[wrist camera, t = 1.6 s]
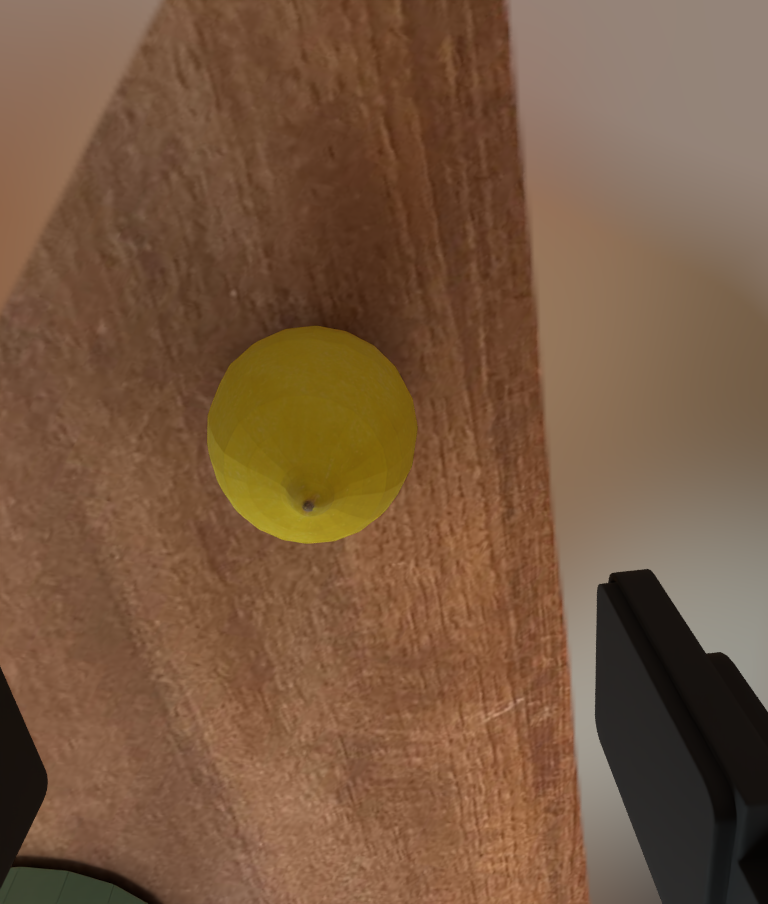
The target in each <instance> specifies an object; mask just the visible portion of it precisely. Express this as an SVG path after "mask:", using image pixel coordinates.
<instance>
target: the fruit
mask: <svg viewBox="0 0 768 904" xmlns="http://www.w3.org/2000/svg"><path fill="white" fill-rule="evenodd" d="M417 429H418V426H417V421H416V415H415V409H414V404H413V398H412V397H411V395H410V393H409V391H408V389H407V387H406V385H405V383H404V382H403V380H402V378H401V376H400V374H399V372H398V370H397V369H396V367H395V366H394V365H393V364H392V363H391V362H390V361H389V360H388V359H387V358H386V357H385V356H384V355H383V354H382V353H381V352H380V351H379V350H378V349H377V348H376V347H375V346H374V345H372V344H370V343H368V342H366V341H364V340H362V339H360V338H358V337H357V336H355V335H353V334H351V333H349V332H347V331H342V330H337V329H332V328H326V327H321V326H308V327H299V328H289V329H284V330H282V331H280V332H277V333H275V334H273V335H270V336H268V337H266V338H264V339H261V340H259V341H257V342H256V343H254V344H253V345H251V346H250V347H249V348H248V349H247V350H246V351H245V352H244V353H243V354H241V355H240V356H239V357H238V358H237V359H236V360H235V361H234V362H232V363H231V364H230V365H229V367H228V369H227V371H226V373H225V375H224V377H223V378H222V380H221V382H220V384H219V386H218V389H217V392H216V394H215V397H214V399H213V402H212V404H211V407H210V410H209V413H208V425H207V446H208V451H209V456H210V459H211V462H212V465H213V469H214V472H215V475H216V478H217V481H218V483H219V485H220V487H221V489H222V491H223V492H224V494H225V495H226V496H227V498H228V499H229V501H230V502H231V504H232V505H233V507H234V508H235V509H236V511H237V512H238V513H239V514H241V515H242V516H243V517H244V518H245V519H247V520H248V521H249V522H250V523H252V524H253V525H254V526H255V527H257V528H258V529H260V530H262V531H264V532H266V533H269V534H271V535H273V536H275V537H278V538H280V539H282V540H288V541H294V542H300V543H306V544H308V543H319V542H330V541H336V540H339V539H341V538H344V537H347V536H349V535H352V534H355V533H357V532H359V531H361V530H362V529H363V528H365V527H366V526H367V525H369V524H370V523H371V522H373V521H374V520H375V519H377V518H378V517H379V516H380V515H382V514H383V513H384V512H385V511H386V510H387V508H388V507H389V506H390V504H391V503H392V501H393V500H394V499H395V497H396V496H397V494H398V493H399V491H400V489H401V487H402V485H403V483H404V481H405V479H406V477H407V475H408V473H409V471H410V469H411V467H412V463H413V456H414V449H415V442H416V436H417Z"/></svg>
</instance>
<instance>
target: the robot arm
mask: <svg viewBox="0 0 768 904" xmlns="http://www.w3.org/2000/svg"><path fill="white" fill-rule="evenodd" d="M595 690H596V691H595V719H596V720H595V721H596V727H597V732H598V736H599V740H600V743H601V745H602V748H603V750H604V753H605V756H606V758H607V761H608V764H609V766H610V769H611V771H612V774H613V777H614V779H615V782H616V784H617V787H618V789H619V792H620V795H621V797H622V800H623V803H624V805H625V808H626V810H627V813H628V816H629V818H630V821H631V823H632V826H633V829H634V831H635V834H636V836H637V839H638V842H639V844H640V847H641V849H642V852H643V855H644V857H645V860H646V862H647V865H648V867H649V870H650V873H651V875H652V878H653V880H654V883H655V886H656V888H657V891H658V893H659V896H660V899H661V901H662V904H768V712H767V710H766V709H765V707H764V706H763V705H762V703H761V702H760V700H759V699H758V697H757V696H756V695H755V693H754V692H753V690H752V689H751V687H750V686H749V685H748V683H747V682H746V680H745V679H744V677H743V676H742V675H741V673H740V671H739V670H738V669H737V667H736V666H735V664H734V663H733V662H732V661H731V660H730V659H729V657H728V656H727V655H725V654H723V653H721V652H717V653H708V654H706V653H705V651H704V650H703V648H702V647H701V645H700V644H699V642H698V641H697V639H696V638H695V636H694V634H693V633H692V631H691V630H690V628H689V627H688V625H687V624H686V622H685V621H684V619H683V618H682V616H681V615H680V613H679V612H678V610H677V608H676V607H675V605H674V604H673V602H672V601H671V599H670V598H669V596H668V595H667V593H666V592H665V590H664V589H663V587H662V586H661V584H660V582H659V581H658V580H657V578H656V576H655V575H654V574H653V572H652V571H651V570H649V569H644V570H635V571H626V572H616V573H612V574H610V577H609V582H608V583H604V584H599V585H598V589H597V630H596V689H595ZM47 784H48V779H47V773H46V770H45V768H44V765H43V763H42V761H41V758H40V756H39V754H38V752H37V749H36V747H35V745H34V743H33V740H32V738H31V736H30V733H29V731H28V729H27V727H26V724H25V722H24V720H23V717H22V715H21V713H20V711H19V708H18V706H17V704H16V701H15V699H14V697H13V695H12V692H11V690H10V688H9V685H8V683H7V681H6V679H5V676H4V674H3V672H2V670H1V667H0V889H1V887H2V885H3V883H4V881H5V878H6V876H7V874H8V872H9V870H10V868H11V866H12V864H13V862H14V860H15V858H16V856H17V854H18V852H19V850H20V848H21V845H22V843H23V841H24V839H25V837H26V835H27V833H28V831H29V829H30V827H31V825H32V823H33V821H34V819H35V817H36V814H37V812H38V810H39V808H40V806H41V804H42V802H43V800H44V798H45V795H46V791H47Z"/></svg>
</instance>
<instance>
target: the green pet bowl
mask: <svg viewBox="0 0 768 904" xmlns="http://www.w3.org/2000/svg"><path fill="white" fill-rule="evenodd" d="M0 904H148V903H146V902H145V901H143V900H141V899H139V898H137V897H136V896H134V895H132V894H130V893H128V892H127V891H125V890H123V889H121V888H119V887H118V886H116V885H113V884H111V883H108V882H104V881H101V880H98V879H94V878H91V877H87V876H84V875H81V874H77V873H74V872H71V871H69V872H68V871H64V870H53V869H42V868H31V867H11V868H10V870H9V872H8V874H7V876H6V878H5V881H4V883H3V885H2V887H1V889H0Z"/></svg>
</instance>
